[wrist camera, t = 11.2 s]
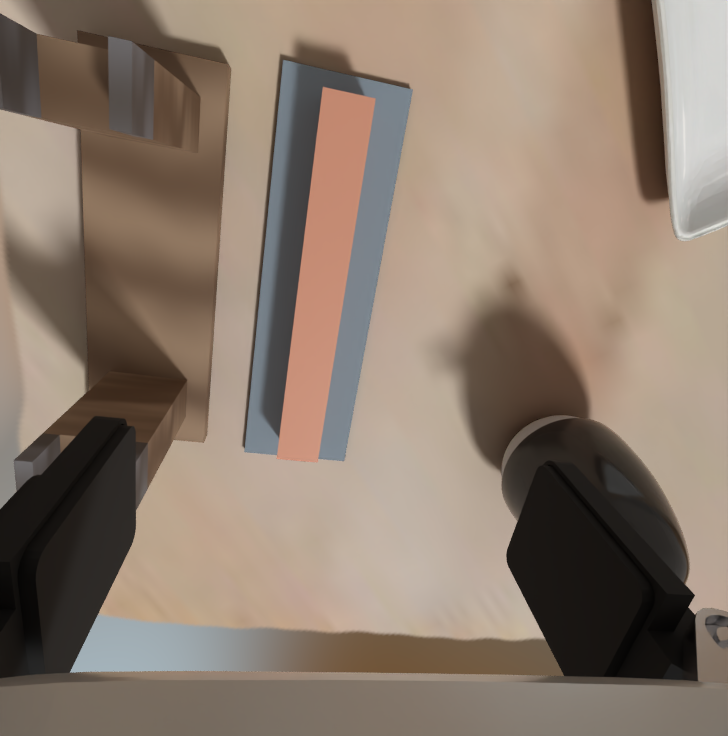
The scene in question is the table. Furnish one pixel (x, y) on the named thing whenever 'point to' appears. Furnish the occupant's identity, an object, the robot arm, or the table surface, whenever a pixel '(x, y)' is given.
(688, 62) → the square plate
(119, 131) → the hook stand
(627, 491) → the pump dispenser
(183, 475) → the table surface
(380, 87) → the mat
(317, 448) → the rail
